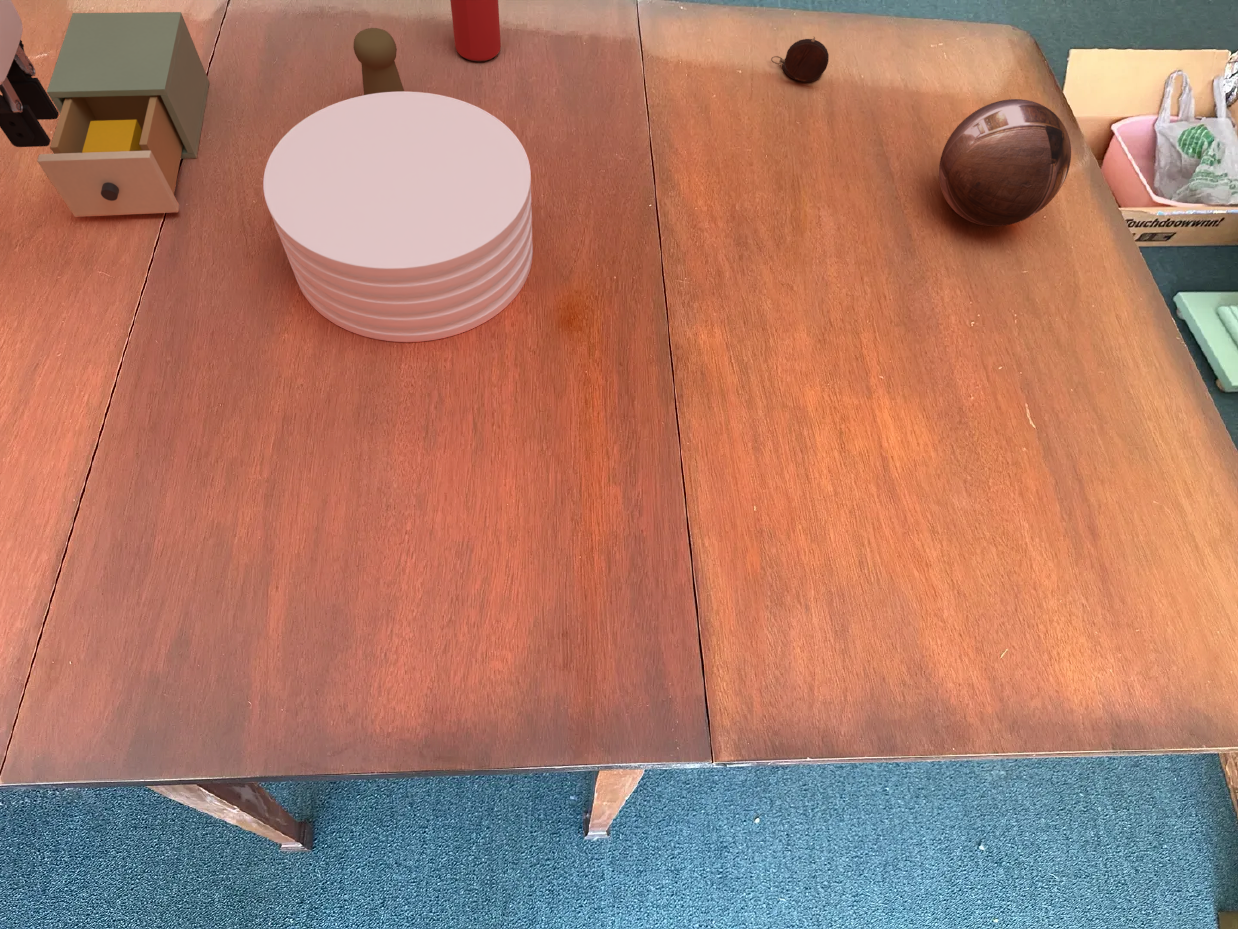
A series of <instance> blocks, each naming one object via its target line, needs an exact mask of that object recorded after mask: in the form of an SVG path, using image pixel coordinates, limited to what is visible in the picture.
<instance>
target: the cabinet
mask: <svg viewBox="0 0 1238 929" xmlns="http://www.w3.org/2000/svg"><path fill="white" fill-rule="evenodd" d="M62 41H63V42H62V45H61V47H60V49H59V50H60V51H59V53H58V56H57V59H56V62H55V66H54V68H53V72H52V75H51V78H50V81H49V84H48V87H47V89H46V93H47V94H48V96H49V98H50V99H51V101H52V103H53V104H54V106H55V107H56V109H57V111H58V113H59V114H60V113H61V110H62V106H63V103H64V100H65V97H107V96H149V95H161V98H162V100H163V102H164V104H165V106H166V108H167V110H168V112H169V114H170V117H171V119H172V121H173V123H174V125H175V127H176V129H177V131H178V134H179V136H180V138H181V140H182V142H183V148H182V153H181V159H180V160H182V159H183V160H184V159H185V160H187V159H197V158H198V153H199V152H198V151H199V146H200V140H201V135H202V128H203V123H204V117H205V112H206V111H205V110H206V104H207V99H208V94H209V93H208V92H209V87H210V80H209V77H208V74H207V73H206V70H205V68H204V66H203V63H202V60H201V57H200V55H199V53H198V51H197V48H196V46H195V42H194V41H193V38H192V35H191V32H190V31H189V27H188V26H187V23H186V21H185V18H184V15H183V13H182V11H147V12H143V11H141V12H137V11H136V12H135V11H134V12H72V13H71V16H70V20H69V23H68V26H67V29H66V32H65V35H64V38H63V40H62Z"/></svg>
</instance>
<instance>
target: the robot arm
mask: <svg viewBox="0 0 1238 929" xmlns="http://www.w3.org/2000/svg"><path fill="white" fill-rule="evenodd" d="M23 29H24V26H23V20H22V18H21V16H20V13H19V12H18V11H17V8H16V7H15V4H14V3H13V1H12V0H0V93H1V94H0V129H1V131H2V132H3V134H4V135H5V136H6V138H7V139H8V141H9V142H10V144H11V145H12V146H13V147H16V148H37V147H39V148H40V147H50V145H51V139H50V137H49V135H48V134H47V132H46V131H45V129H44V128H43V126H42V124H41V122H40V121H43V120H45V121H47V120H49V121H50V120H58V119H59V116H60V113H59V111H58V109H57V108H56V106H55V104H54V103H53V101H52V100H51V98H50V96H49V95H48V93H47V90H46V89H45V88H44V86H43V85H42V83H41V81H40V80H39V78H38V77H35V76H36V73H37V72H36V67H35V66H34V64H33V63H32V61H31V59H30V58H29V57H28V55H27V54H26V52H25V48H24V47H25V46H24V45H25V44H24V43H23V40H21V39H22V36H23Z"/></svg>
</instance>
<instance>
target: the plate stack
mask: <svg viewBox="0 0 1238 929" xmlns="http://www.w3.org/2000/svg"><path fill="white" fill-rule="evenodd" d="M264 168H265V169H264V172H263V179H262V180H263V182H262V185H263V186H262V187H263V196H264V201H265V203H266V206H267V209H268V211H269V214H270V216H271V219H272V221H273V224H274V227H275V229H276V231H277V232H276V233H277V234H278V237H279V239H280V242H281V244H282V247H283V249H284V252H285V254H286V256H287V260H288V262H289V264H290V267H291V270H292V271H293V272H292V273H293V274H294V277H295V280H296V282H297V285H298V287H299V289H300V292H301V293H302V294H303V297H304V298H305V300H307V302H308V303H309V304H310V306H311V307H312V308H314V309H315V311H316V312H318V314H320V315H321V316H322V317H324V318H325V319H326V320H328V321H329V322H331V323H332V324H334V325H336V326H337V327H340V328H342V329H344V330H346V331H348V332H351V333H352V334H356V335H359V336H362V337H365V338H369V339H373V340H379V341H385V342H386V341H387V342H392V343H393V342H395V343H419V342H420V343H421V342H429V341H436V340H441V339H446V338H449V337H453V336H457V335H460V334H463V333H465V332H468V331H470V330H472V329H474V328H475V329H476V328H477V327H479V326H481V325H483V324H485V323H486V322H488V321H490V320H491V319H493V318H494V317H496V316H497V315H498V314H500V313H501V312H503V311H504V310H505V309H506V308H507V307H508V306H509V305H510V304H511V303H512V302H513V301H514V300H515V298H516V297H517V296H518V295H519V293H520V292H521V290H522V289H523V288H524V286H525V284H526V281H527V279H528V277H529V274H530V271H531V268H532V263H533V257H534V256H533V253H534V251H533V250H534V248H533V209H532V174H531V173H532V172H531V164H530V160H529V157H528V155H527V151H526V150H525V147H524V146H523V144H522V142H521V141H520V140H519V137H518V136H517V135H516V134H515V133H514V132H513V131H512V130H511V129H510V128H509V126H507V125H506V124H505V123H504V122H502V121H501V120H500V119H499V118H498V117H496V116H494V115H493V114H491V113H489V112H488V111H486V110H485V109H482V108H481V107H479V106H477V105H474V104H472V103H469V102H467V101H463V100H461V99H458V98H454V97H451V96H447V95H442V94H436V93H431V92H422V91H405V90H404V91H401V92H383V93H375V94H368V95H364V94H362V95H359V96H355V97H350V98H348V99H344V100H340V101H338V102H335V103H333V104H330V105H328V106H326V107H324V108H322V109H320V110H317V111H315V112H313V113H312V114H310V115H309V116H307V117H305V118H303V119H302V120H301V121H300V122H298V123H296V125H293V127H292V128H291V129H289V130H288V131H287V133H285V134H284V136H282V137H281V139H280V140H279V141H278V143H277V144H276V145H275V147H274V148H273V150H272V151H271V153H270V156H269V157H268V160H267V162H266V165H265V167H264Z"/></svg>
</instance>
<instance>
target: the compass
mask: <svg viewBox="0 0 1238 929" xmlns="http://www.w3.org/2000/svg"><path fill="white" fill-rule="evenodd" d="M829 54H830V53H829V51H828V49H827V47H826V46H825V45H824V44H823V43H822V42H821V41H820V40H816V36H813V38H804V39H799V40H797V41H795V42H793V43H792V44H791V45H790V46H789V48H788V49H787V51H786V54H785V58H782V57H781V56H778V55H773V56H772V57H771V58H770V61H771V62H772V63H773V64H776V65H781V64H782V66H781V68H782V70H783V72H784V74H786V76H787V77H789V78H790V79H792V80H794V81H797V82H802V83H811V82H815V81H817V80H819V79H820V78H821V77H822V75H823V74H824V72H825V71H826V70H827V68H828V65H829V59H830V58H829V57H830V56H829ZM774 58H778V59H779V61H778V62H776V61H774V60H773V59H774Z"/></svg>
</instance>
